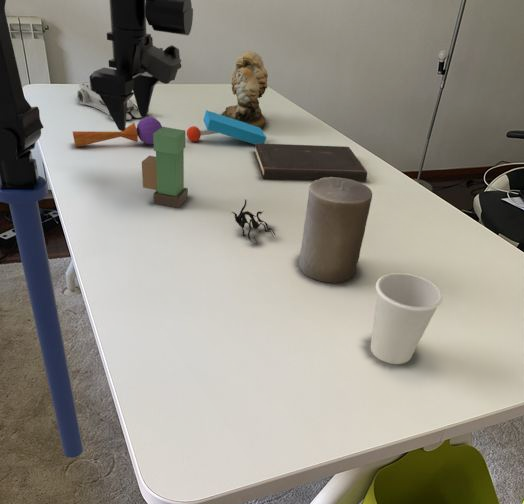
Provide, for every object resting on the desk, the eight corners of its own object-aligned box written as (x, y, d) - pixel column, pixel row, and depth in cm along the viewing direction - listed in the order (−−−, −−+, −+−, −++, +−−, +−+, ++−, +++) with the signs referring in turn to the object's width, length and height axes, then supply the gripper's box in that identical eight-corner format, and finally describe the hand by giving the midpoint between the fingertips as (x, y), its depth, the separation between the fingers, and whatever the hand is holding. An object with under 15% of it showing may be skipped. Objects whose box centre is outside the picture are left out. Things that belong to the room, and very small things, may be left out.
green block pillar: (120, 164, 102) (163, 123, 95) (132, 156, 105) (174, 115, 99) (166, 217, 106) (211, 181, 99) (176, 207, 110) (219, 171, 103)
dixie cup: (359, 364, 73) (375, 301, 66) (362, 327, 79) (377, 267, 73) (423, 375, 72) (445, 313, 66) (420, 338, 78) (440, 278, 72)
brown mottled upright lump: (218, 110, 154) (220, 41, 143) (259, 112, 156) (265, 44, 145) (224, 131, 140) (227, 57, 130) (269, 133, 142) (276, 60, 132)
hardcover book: (254, 152, 130) (254, 143, 129) (347, 156, 134) (349, 146, 132) (263, 179, 118) (264, 169, 117) (365, 182, 122) (367, 172, 120)
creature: (279, 235, 101) (240, 216, 102) (288, 210, 98) (248, 191, 98) (263, 253, 95) (223, 234, 96) (273, 228, 92) (231, 207, 93)
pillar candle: (367, 276, 90) (388, 189, 81) (319, 288, 86) (335, 198, 77) (333, 249, 97) (349, 165, 87) (286, 259, 92) (297, 172, 83)
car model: (115, 122, 138) (113, 101, 135) (68, 97, 151) (66, 77, 148) (152, 116, 145) (152, 96, 142) (104, 92, 158) (103, 73, 155)
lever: (251, 154, 142) (183, 133, 135) (260, 127, 138) (191, 105, 131) (256, 164, 137) (186, 143, 130) (266, 137, 133) (194, 114, 126)
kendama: (70, 123, 124) (158, 114, 129) (76, 151, 127) (162, 141, 132) (71, 126, 119) (163, 117, 124) (78, 155, 122) (166, 144, 127)
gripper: (151, 44, 83) (153, 147, 93) (194, 26, 97) (192, 117, 107) (83, 32, 85) (93, 135, 95) (135, 16, 99) (139, 107, 109)
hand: (133, 123), depth 101 cm, fingers open, 9 cm apart
